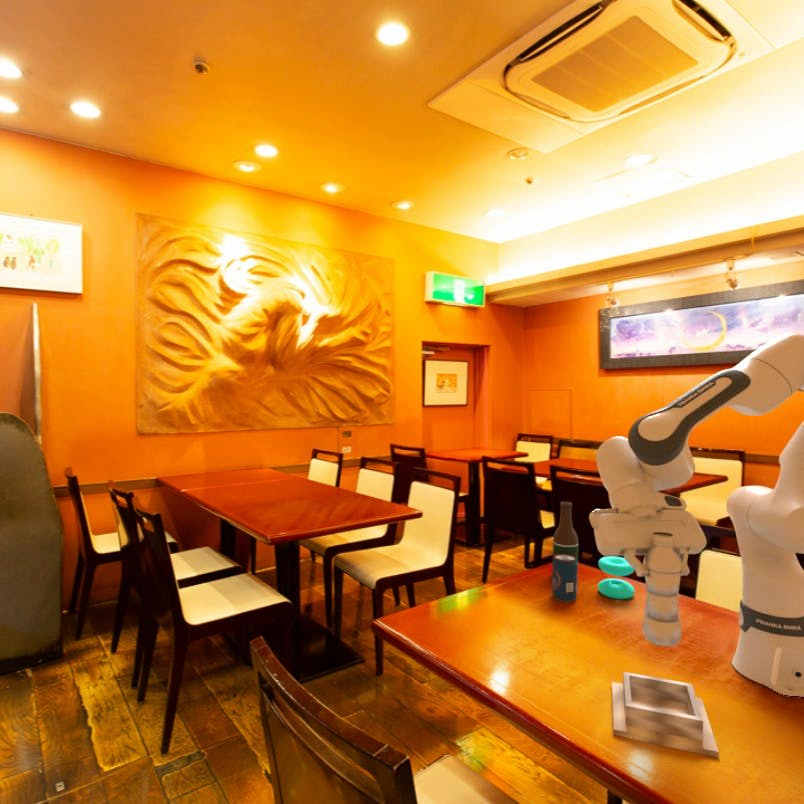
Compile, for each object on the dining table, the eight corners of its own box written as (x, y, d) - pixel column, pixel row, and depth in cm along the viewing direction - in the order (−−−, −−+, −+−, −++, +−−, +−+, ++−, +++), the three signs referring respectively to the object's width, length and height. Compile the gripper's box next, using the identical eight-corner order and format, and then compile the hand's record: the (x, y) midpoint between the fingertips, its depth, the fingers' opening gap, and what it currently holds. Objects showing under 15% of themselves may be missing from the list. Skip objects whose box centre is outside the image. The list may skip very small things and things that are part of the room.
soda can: (548, 594, 156) (548, 553, 155) (570, 593, 156) (571, 553, 156) (557, 603, 149) (558, 561, 148) (581, 602, 149) (581, 560, 149)
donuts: (642, 563, 153) (615, 567, 149) (642, 597, 153) (615, 602, 149) (616, 553, 162) (591, 557, 158) (616, 585, 162) (590, 590, 159)
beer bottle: (551, 578, 168) (552, 503, 168) (553, 570, 176) (554, 499, 175) (577, 581, 166) (578, 505, 165) (578, 573, 173) (579, 500, 172)
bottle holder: (701, 703, 101) (701, 680, 101) (718, 757, 86) (719, 731, 86) (612, 686, 107) (612, 664, 107) (613, 734, 92) (614, 709, 92)
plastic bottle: (688, 645, 96) (690, 535, 95) (668, 655, 92) (670, 541, 91) (654, 631, 101) (656, 527, 101) (634, 641, 97) (636, 532, 97)
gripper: (591, 500, 102) (614, 568, 92) (692, 499, 104) (725, 565, 94) (581, 517, 107) (602, 583, 97) (678, 516, 108) (708, 581, 99)
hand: (664, 574), depth 96 cm, fingers closed on plastic bottle, 6 cm apart
